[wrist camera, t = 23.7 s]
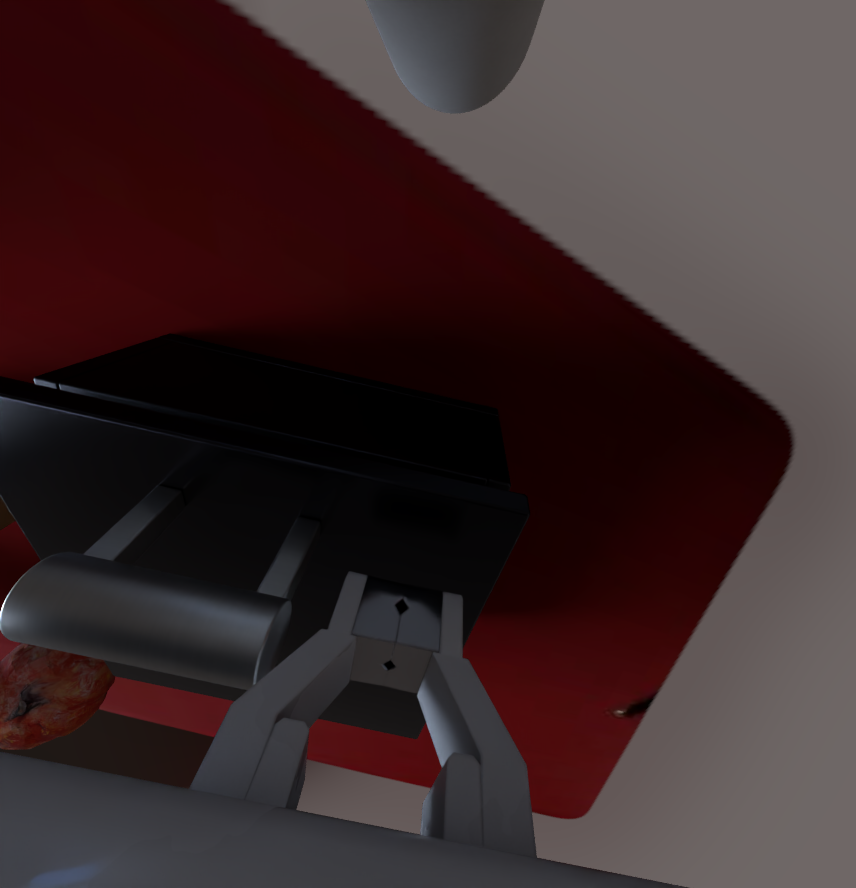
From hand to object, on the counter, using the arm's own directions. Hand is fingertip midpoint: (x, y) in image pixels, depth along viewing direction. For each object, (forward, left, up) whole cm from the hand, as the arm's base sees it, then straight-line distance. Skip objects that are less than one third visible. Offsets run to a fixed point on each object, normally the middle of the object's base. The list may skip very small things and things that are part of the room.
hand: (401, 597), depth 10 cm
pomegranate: (+26, -23, -10) cm, 36 cm away
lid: (+5, -5, -3) cm, 8 cm away
